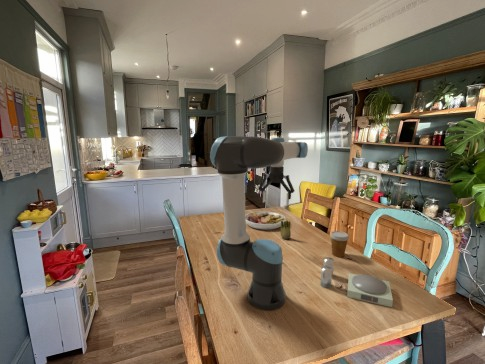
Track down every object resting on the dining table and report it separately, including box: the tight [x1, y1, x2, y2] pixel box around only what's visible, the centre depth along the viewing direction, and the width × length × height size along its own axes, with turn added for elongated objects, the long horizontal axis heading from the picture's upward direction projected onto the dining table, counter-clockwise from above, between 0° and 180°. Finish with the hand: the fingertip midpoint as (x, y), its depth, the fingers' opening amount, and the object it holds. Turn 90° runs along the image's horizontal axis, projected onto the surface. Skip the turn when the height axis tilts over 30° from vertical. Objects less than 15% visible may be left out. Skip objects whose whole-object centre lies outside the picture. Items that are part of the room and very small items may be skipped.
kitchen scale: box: [346, 273, 394, 308], centre depth 108 cm, size 14×16×4 cm
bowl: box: [245, 210, 287, 231], centre depth 190 cm, size 30×30×8 cm
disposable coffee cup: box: [329, 230, 350, 258], centre depth 141 cm, size 10×10×12 cm
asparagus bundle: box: [280, 220, 292, 240], centre depth 162 cm, size 6×5×12 cm
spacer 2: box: [320, 266, 333, 289], centre depth 113 cm, size 4×4×8 cm
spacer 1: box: [322, 256, 335, 278], centre depth 121 cm, size 4×4×8 cm
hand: (275, 203), depth 146 cm, fingers open, 13 cm apart
